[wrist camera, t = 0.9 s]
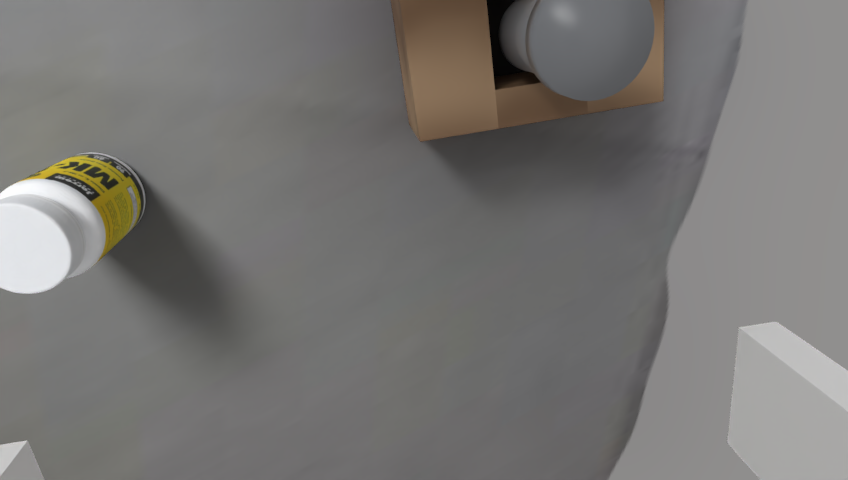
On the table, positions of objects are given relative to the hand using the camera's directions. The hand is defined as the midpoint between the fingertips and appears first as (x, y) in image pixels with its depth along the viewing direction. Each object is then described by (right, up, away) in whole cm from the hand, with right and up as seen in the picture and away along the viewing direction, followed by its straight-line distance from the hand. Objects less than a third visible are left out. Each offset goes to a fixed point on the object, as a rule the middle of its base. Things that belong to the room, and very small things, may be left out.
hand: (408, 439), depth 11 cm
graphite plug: (+5, +13, +16) cm, 21 cm away
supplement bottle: (-17, +6, +21) cm, 28 cm away
